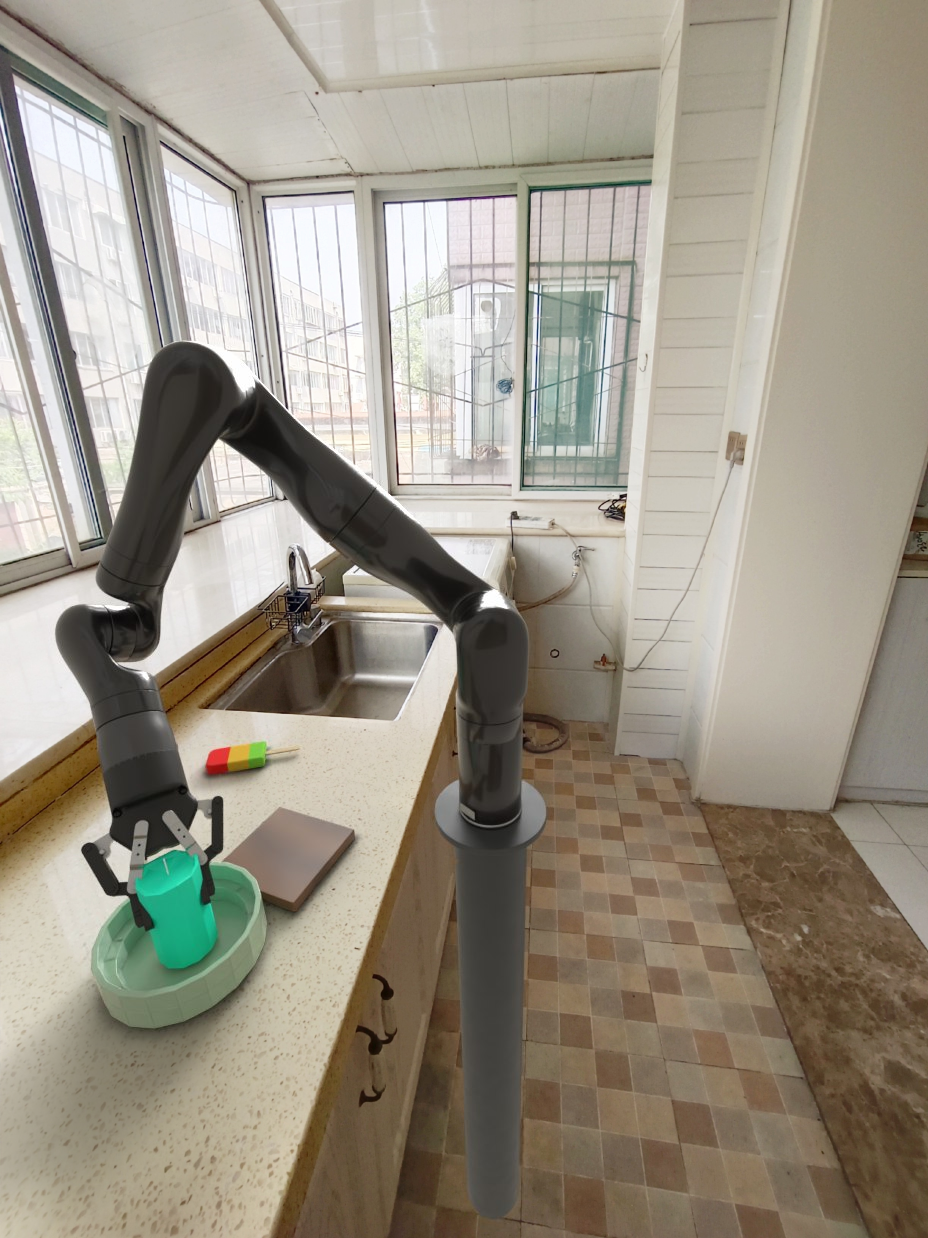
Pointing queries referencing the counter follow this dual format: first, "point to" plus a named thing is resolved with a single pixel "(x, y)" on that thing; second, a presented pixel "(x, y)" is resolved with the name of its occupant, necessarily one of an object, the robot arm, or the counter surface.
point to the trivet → (291, 855)
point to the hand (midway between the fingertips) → (179, 915)
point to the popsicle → (240, 757)
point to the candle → (177, 909)
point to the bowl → (176, 995)
